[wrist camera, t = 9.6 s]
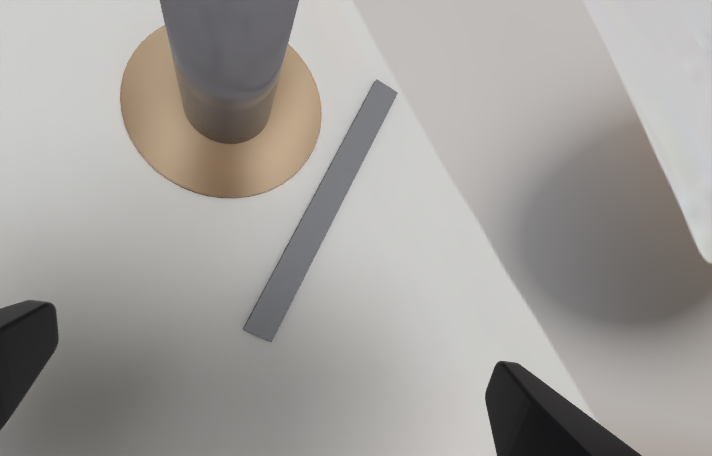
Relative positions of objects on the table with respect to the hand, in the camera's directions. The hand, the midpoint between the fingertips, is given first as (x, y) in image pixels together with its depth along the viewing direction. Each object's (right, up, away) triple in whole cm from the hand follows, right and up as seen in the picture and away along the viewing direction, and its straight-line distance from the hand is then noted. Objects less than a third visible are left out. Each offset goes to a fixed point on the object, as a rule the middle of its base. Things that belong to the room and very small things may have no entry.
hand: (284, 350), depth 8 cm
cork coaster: (-5, +9, +13) cm, 17 cm away
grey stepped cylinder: (-5, +9, +13) cm, 17 cm away
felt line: (0, +4, +14) cm, 15 cm away
